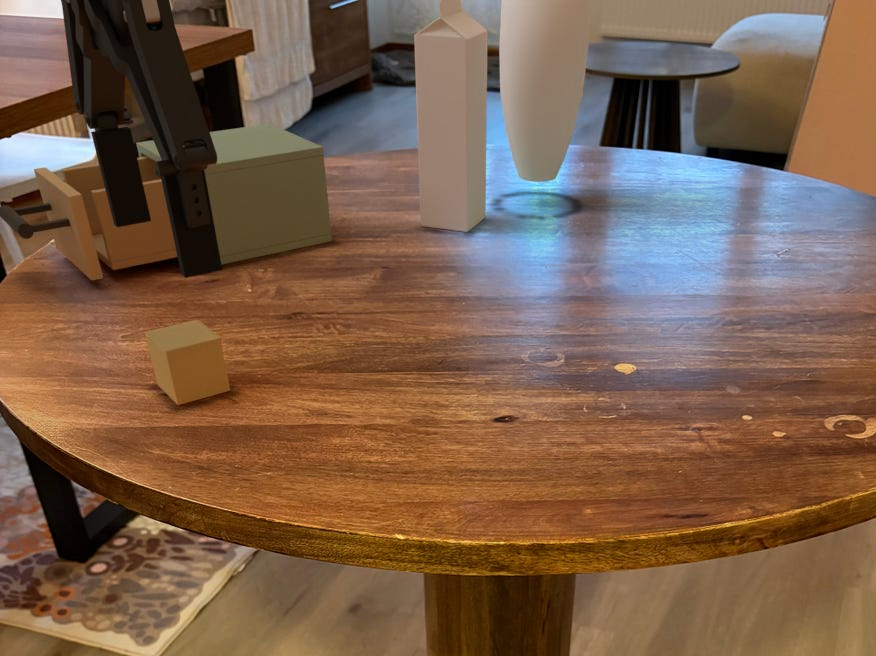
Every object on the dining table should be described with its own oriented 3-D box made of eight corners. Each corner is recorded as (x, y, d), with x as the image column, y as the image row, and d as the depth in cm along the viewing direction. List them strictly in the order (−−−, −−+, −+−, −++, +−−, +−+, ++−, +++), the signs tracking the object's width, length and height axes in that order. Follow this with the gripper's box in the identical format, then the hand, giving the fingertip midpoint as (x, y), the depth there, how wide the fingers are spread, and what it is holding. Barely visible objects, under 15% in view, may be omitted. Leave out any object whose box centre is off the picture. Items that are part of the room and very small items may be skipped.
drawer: (41, 291, 88) (14, 205, 83) (8, 257, 95) (-18, 176, 90) (227, 252, 97) (214, 172, 92) (185, 224, 104) (171, 148, 99)
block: (177, 405, 73) (165, 351, 70) (157, 384, 75) (144, 331, 73) (230, 390, 75) (220, 337, 72) (208, 371, 77) (197, 318, 75)
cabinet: (201, 269, 96) (182, 169, 89) (156, 236, 103) (135, 142, 97) (332, 241, 103) (323, 146, 96) (281, 212, 110) (269, 123, 104)
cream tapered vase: (533, 185, 120) (542, -16, 106) (595, 202, 114) (613, -8, 100) (477, 201, 114) (479, -9, 100) (539, 220, 109) (550, 1, 94)
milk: (485, 218, 109) (490, -6, 95) (467, 233, 105) (468, 1, 91) (439, 211, 111) (436, -10, 96) (418, 226, 107) (412, -3, 92)
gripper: (231, -126, 48) (288, 284, 62) (80, -133, 63) (152, 197, 77) (88, -124, 44) (182, 309, 58) (-36, -131, 60) (62, 213, 74)
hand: (165, 246), depth 68 cm, fingers open, 13 cm apart
